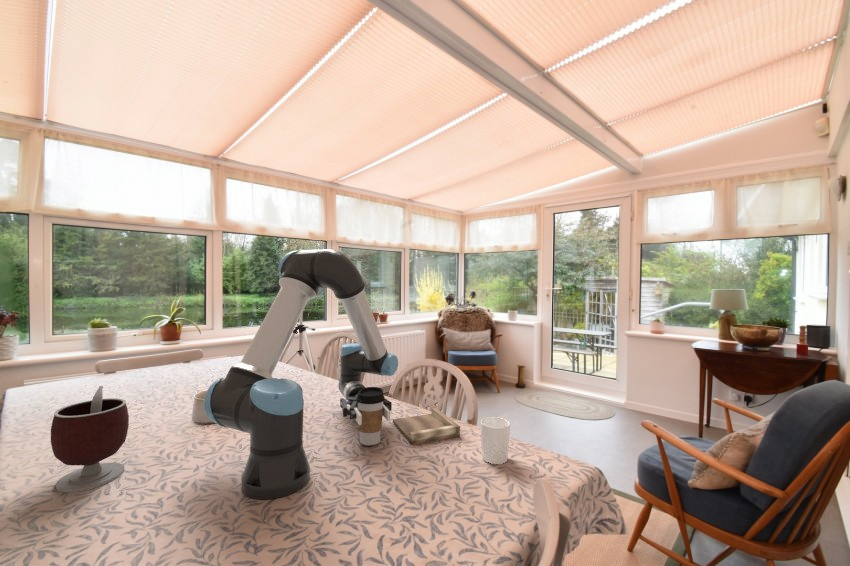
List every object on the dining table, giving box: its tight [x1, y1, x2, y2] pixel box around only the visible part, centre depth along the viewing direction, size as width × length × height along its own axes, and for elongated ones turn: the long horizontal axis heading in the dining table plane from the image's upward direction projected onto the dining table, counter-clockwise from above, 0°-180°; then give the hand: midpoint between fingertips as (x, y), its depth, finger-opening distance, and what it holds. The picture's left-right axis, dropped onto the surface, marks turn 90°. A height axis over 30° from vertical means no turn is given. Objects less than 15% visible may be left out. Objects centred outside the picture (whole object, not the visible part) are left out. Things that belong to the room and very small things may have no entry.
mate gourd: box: [50, 385, 130, 493], centre depth 89 cm, size 16×14×20 cm
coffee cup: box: [356, 386, 386, 446], centre depth 110 cm, size 8×8×15 cm
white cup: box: [480, 416, 511, 465], centre depth 101 cm, size 8×8×10 cm
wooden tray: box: [392, 407, 461, 446], centre depth 120 cm, size 16×18×3 cm
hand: (374, 418), depth 105 cm, fingers closed on coffee cup, 8 cm apart
